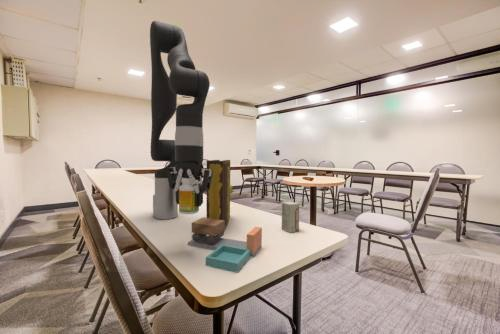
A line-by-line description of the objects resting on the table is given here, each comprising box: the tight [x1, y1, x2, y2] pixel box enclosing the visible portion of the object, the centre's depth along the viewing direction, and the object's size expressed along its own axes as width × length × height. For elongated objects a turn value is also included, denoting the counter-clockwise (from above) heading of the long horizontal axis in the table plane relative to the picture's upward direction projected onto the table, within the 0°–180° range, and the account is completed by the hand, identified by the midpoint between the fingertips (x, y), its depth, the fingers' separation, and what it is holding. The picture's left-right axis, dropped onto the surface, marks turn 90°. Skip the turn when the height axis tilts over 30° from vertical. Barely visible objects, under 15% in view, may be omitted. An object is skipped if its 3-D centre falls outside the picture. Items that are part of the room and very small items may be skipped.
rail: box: [187, 226, 263, 257], centre depth 66 cm, size 21×7×6 cm, turn 69°
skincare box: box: [281, 201, 300, 233], centre depth 81 cm, size 5×4×10 cm
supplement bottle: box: [178, 178, 200, 215], centre depth 62 cm, size 5×5×10 cm
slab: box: [191, 217, 226, 244], centre depth 68 cm, size 8×6×5 cm
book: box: [206, 159, 234, 233], centre depth 87 cm, size 22×8×25 cm, turn 179°
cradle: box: [204, 244, 252, 273], centre depth 57 cm, size 9×9×2 cm
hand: (189, 204), depth 62 cm, fingers closed on supplement bottle, 5 cm apart
